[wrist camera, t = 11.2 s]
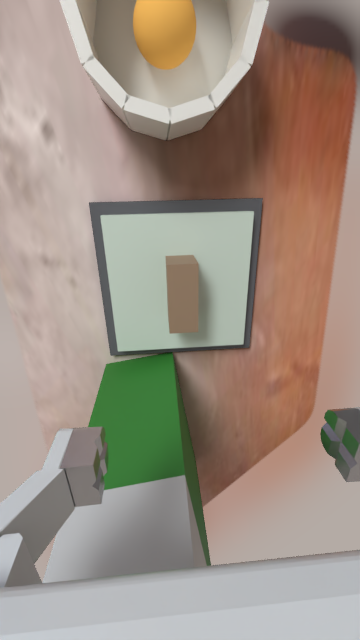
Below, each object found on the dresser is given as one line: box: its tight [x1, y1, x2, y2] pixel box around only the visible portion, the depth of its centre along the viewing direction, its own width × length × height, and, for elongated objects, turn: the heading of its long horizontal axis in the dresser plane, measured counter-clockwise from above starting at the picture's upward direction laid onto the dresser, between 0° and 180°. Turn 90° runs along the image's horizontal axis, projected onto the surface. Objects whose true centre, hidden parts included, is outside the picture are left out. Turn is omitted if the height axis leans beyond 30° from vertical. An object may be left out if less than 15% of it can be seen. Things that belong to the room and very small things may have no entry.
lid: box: [100, 211, 254, 352], centre depth 25 cm, size 13×13×4 cm
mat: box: [89, 198, 263, 355], centre depth 28 cm, size 15×15×1 cm
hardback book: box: [43, 352, 211, 583], centre depth 24 cm, size 18×7×24 cm, turn 10°
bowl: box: [60, 0, 269, 140], centre depth 18 cm, size 11×11×6 cm
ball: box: [133, 0, 196, 70], centre depth 18 cm, size 4×4×4 cm
